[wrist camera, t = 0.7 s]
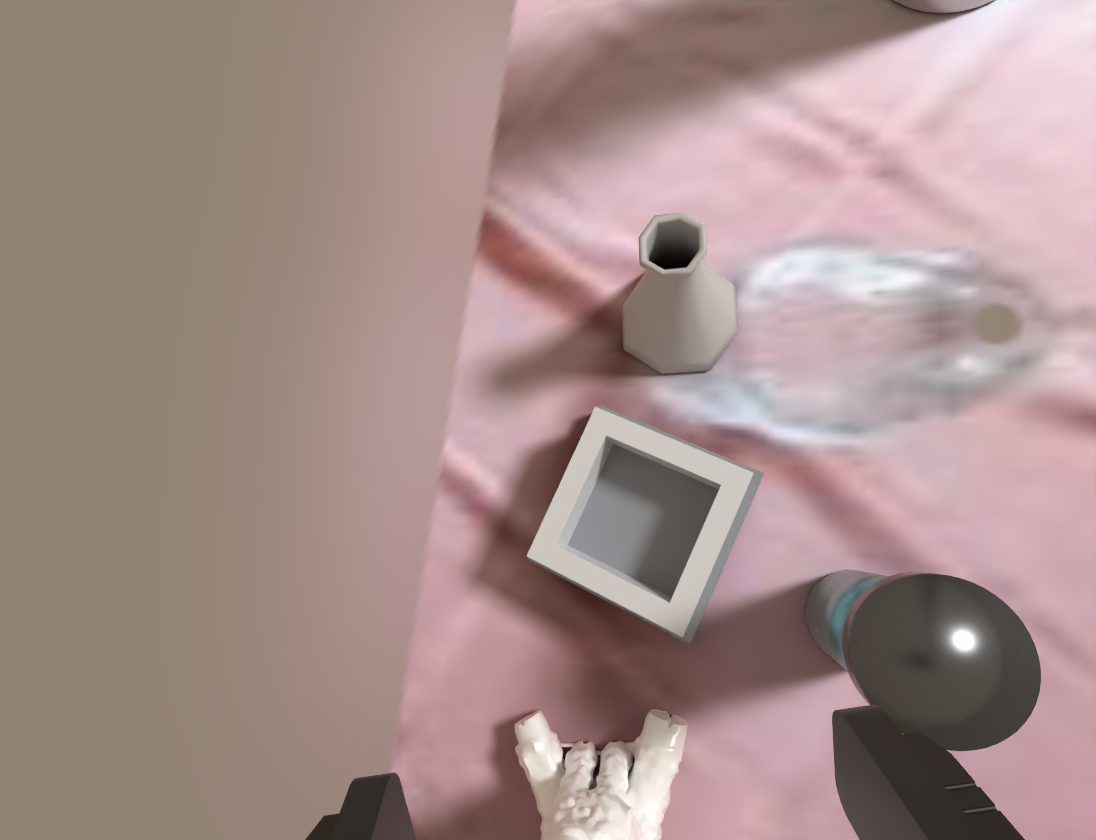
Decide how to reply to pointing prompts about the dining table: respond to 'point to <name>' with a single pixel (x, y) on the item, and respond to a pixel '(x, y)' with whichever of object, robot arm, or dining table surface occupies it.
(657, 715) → the seated beast figurine
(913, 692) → the teal capped jar
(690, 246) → the flask
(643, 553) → the dock
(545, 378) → the dining table surface
